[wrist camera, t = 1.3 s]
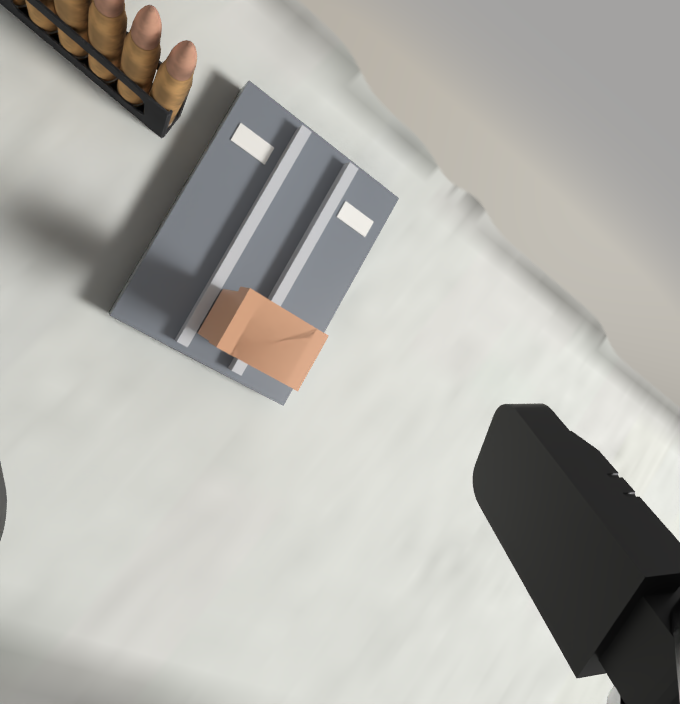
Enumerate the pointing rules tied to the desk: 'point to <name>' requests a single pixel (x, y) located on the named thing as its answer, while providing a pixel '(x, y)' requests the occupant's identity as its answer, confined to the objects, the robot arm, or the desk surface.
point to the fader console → (256, 234)
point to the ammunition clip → (117, 53)
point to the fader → (263, 335)
